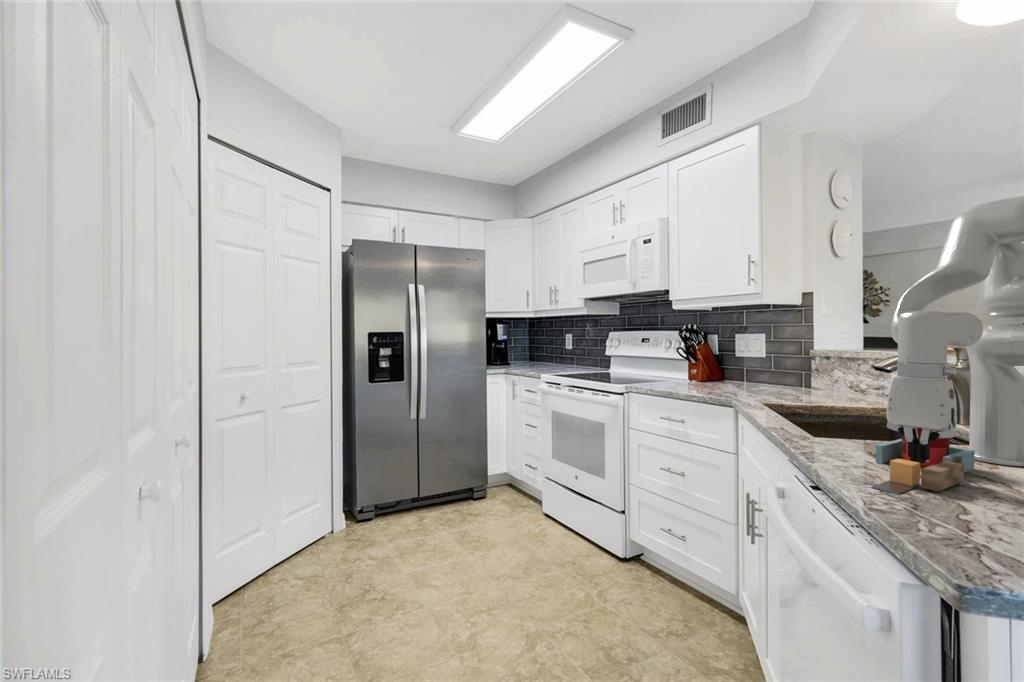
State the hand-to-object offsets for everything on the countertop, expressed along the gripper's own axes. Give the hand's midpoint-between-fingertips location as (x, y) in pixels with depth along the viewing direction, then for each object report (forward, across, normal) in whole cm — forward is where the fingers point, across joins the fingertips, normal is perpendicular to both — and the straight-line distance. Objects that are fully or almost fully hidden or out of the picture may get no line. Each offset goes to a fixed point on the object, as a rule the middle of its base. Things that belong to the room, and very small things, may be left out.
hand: (918, 461), depth 94 cm
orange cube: (+4, 0, +6) cm, 7 cm away
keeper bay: (+3, +3, -13) cm, 14 cm away
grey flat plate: (+4, 0, +10) cm, 10 cm away
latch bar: (+3, -5, +2) cm, 6 cm away
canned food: (+3, +3, -13) cm, 14 cm away
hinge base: (+3, -5, -4) cm, 7 cm away
